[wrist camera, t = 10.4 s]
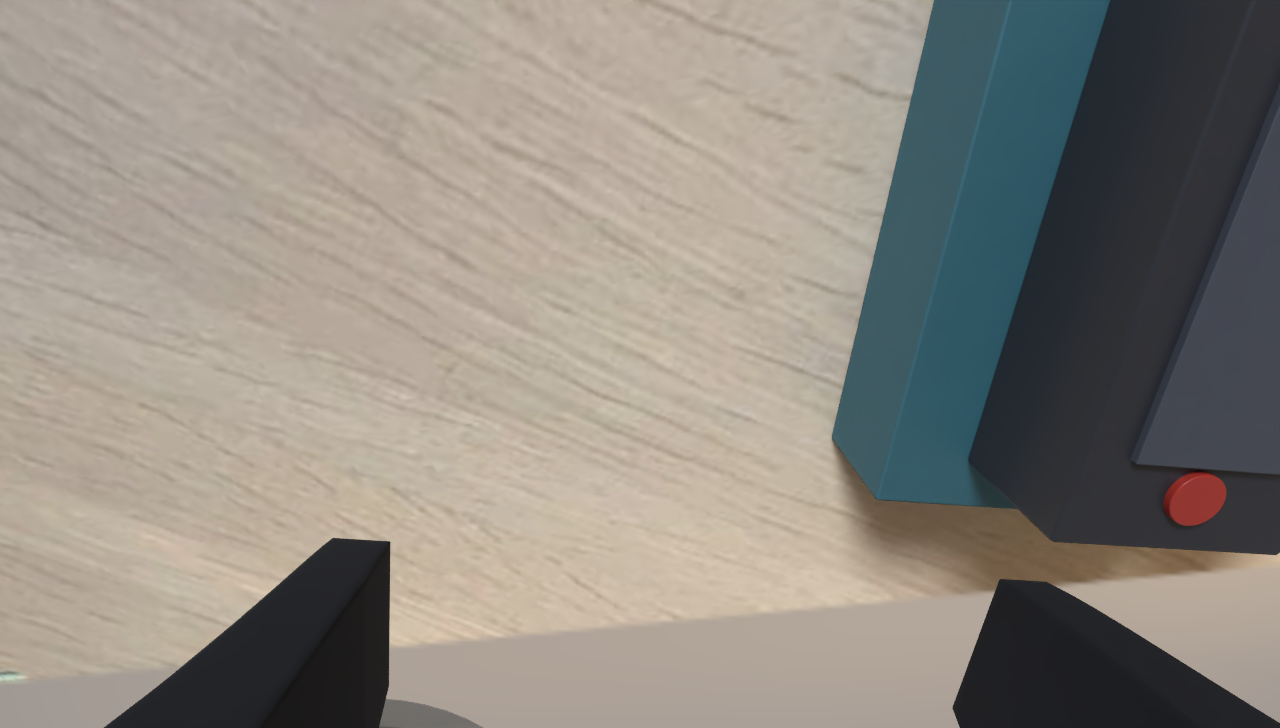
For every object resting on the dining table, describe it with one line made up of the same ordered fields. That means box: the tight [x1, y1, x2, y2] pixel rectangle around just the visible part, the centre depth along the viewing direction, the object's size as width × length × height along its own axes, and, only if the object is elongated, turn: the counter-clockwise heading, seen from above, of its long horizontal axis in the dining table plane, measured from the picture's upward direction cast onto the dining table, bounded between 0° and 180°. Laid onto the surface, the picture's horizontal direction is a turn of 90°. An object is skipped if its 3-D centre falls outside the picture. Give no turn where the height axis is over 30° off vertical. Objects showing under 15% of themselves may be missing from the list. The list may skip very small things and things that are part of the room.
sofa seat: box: [832, 0, 1110, 509], centre depth 15 cm, size 10×11×4 cm
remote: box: [968, 0, 1280, 555], centre depth 13 cm, size 9×4×3 cm, turn 173°
